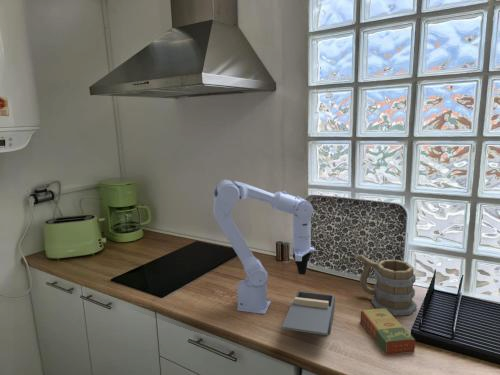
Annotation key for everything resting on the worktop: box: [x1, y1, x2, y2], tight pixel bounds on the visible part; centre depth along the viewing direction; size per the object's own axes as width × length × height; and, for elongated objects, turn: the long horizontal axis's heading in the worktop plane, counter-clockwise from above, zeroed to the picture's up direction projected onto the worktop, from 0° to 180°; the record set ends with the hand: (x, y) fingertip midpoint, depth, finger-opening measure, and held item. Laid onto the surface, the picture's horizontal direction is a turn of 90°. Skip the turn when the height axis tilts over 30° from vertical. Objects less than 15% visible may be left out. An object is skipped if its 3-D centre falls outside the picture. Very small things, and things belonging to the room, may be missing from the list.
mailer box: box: [292, 290, 336, 335], centre depth 110 cm, size 12×14×5 cm
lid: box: [281, 296, 332, 336], centre depth 101 cm, size 12×14×2 cm
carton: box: [360, 308, 416, 356], centre depth 100 cm, size 8×16×4 cm, turn 6°
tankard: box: [354, 253, 417, 317], centre depth 118 cm, size 20×13×15 cm, turn 45°
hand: (302, 273), depth 120 cm, fingers closed
